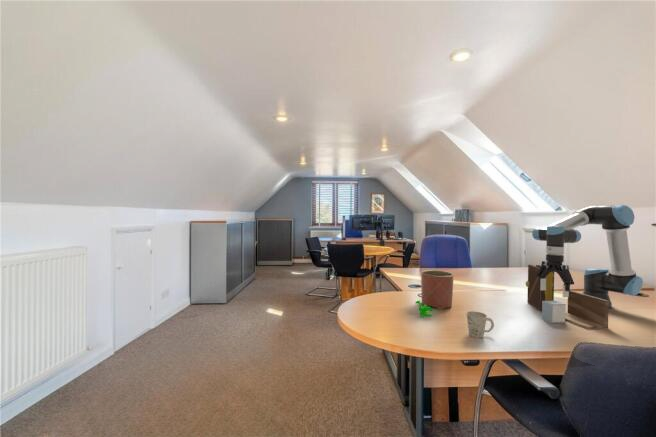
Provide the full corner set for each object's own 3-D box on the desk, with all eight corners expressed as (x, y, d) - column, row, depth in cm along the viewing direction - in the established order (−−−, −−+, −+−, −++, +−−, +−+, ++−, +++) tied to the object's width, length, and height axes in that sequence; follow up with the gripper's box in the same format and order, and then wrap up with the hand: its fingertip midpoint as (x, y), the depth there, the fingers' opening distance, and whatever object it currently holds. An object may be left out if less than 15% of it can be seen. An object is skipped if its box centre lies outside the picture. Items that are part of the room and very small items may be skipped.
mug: (462, 332, 140) (463, 311, 140) (487, 331, 142) (487, 311, 141) (472, 339, 132) (473, 317, 132) (499, 338, 133) (499, 317, 133)
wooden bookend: (570, 314, 167) (571, 290, 167) (608, 328, 147) (608, 300, 147) (551, 315, 166) (552, 290, 166) (587, 329, 146) (587, 301, 146)
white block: (554, 318, 160) (555, 300, 160) (565, 322, 154) (565, 304, 154) (541, 319, 159) (542, 301, 159) (551, 323, 153) (552, 304, 153)
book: (557, 313, 169) (558, 270, 168) (540, 312, 170) (541, 270, 170) (537, 302, 190) (538, 264, 190) (523, 301, 192) (524, 263, 192)
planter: (459, 306, 180) (459, 274, 180) (440, 311, 170) (441, 277, 169) (432, 298, 196) (433, 269, 196) (414, 303, 185) (414, 272, 185)
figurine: (410, 313, 164) (413, 297, 164) (430, 316, 166) (433, 300, 166) (415, 317, 158) (418, 300, 158) (435, 320, 159) (438, 304, 160)
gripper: (529, 251, 168) (528, 287, 169) (570, 257, 144) (569, 300, 144) (541, 251, 169) (540, 287, 170) (584, 257, 145) (582, 300, 145)
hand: (553, 293), depth 157 cm, fingers open, 13 cm apart
